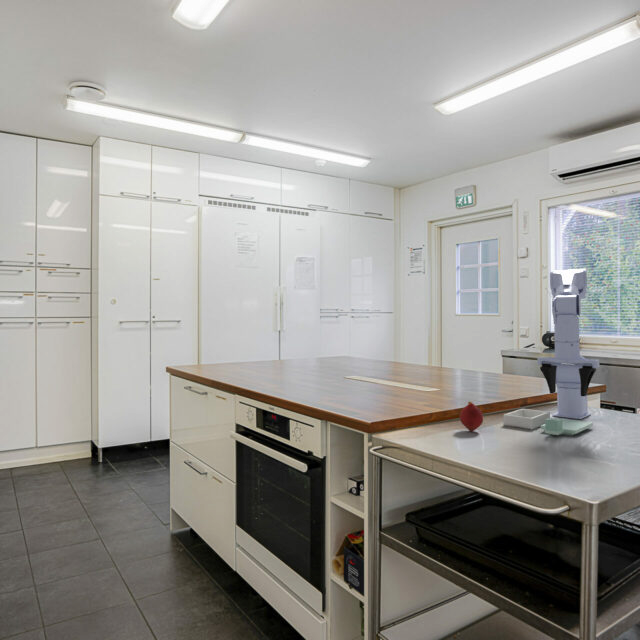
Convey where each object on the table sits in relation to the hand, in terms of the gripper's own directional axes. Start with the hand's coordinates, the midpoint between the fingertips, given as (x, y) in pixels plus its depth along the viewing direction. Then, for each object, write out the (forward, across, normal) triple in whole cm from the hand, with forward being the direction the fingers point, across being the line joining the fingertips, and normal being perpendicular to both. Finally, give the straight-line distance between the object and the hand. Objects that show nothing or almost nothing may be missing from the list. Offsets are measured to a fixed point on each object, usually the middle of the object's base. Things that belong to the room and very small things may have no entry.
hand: (567, 394), depth 126 cm
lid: (+10, -1, +1) cm, 10 cm away
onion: (+10, -19, -15) cm, 26 cm away
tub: (+10, -12, +3) cm, 16 cm away
